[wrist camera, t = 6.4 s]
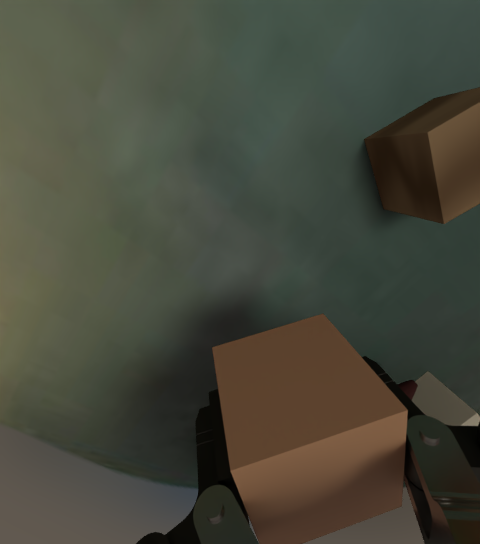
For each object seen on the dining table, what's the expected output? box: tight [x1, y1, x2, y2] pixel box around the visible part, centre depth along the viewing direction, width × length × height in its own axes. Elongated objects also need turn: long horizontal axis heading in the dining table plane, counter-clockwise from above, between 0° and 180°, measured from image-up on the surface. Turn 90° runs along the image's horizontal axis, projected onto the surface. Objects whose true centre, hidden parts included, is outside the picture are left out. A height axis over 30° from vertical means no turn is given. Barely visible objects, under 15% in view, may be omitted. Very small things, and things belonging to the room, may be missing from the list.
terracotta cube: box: [212, 314, 408, 544], centre depth 11 cm, size 5×5×5 cm
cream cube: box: [412, 372, 480, 426], centre depth 26 cm, size 5×5×5 cm
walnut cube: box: [364, 87, 480, 224], centre depth 16 cm, size 5×5×5 cm
